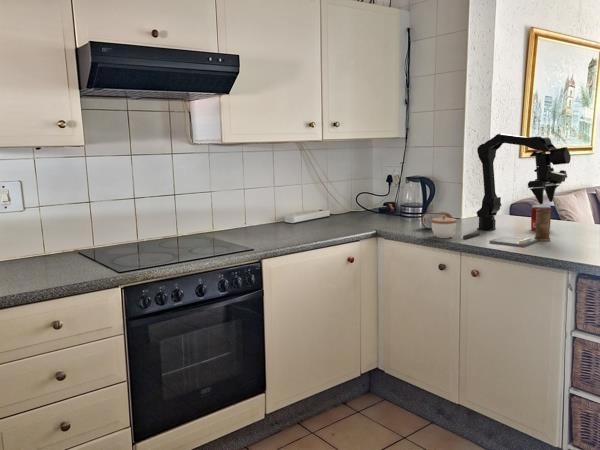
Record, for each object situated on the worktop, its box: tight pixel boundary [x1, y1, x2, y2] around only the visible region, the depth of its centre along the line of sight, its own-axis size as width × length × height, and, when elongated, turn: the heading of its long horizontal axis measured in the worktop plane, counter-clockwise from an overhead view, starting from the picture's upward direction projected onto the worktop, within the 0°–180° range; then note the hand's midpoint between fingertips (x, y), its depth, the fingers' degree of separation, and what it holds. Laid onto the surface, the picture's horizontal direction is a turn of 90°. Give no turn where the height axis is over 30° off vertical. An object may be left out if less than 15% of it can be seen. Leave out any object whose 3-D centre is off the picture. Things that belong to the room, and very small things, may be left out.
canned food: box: [530, 204, 552, 232], centre depth 243 cm, size 8×8×11 cm
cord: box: [462, 231, 481, 240], centre depth 231 cm, size 14×2×2 cm, turn 135°
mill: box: [533, 209, 552, 243], centre depth 219 cm, size 6×6×12 cm
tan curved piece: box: [421, 210, 453, 230], centre depth 254 cm, size 15×3×8 cm, turn 54°
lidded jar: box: [431, 216, 457, 239], centre depth 234 cm, size 11×11×9 cm
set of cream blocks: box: [519, 237, 532, 244], centre depth 212 cm, size 1×8×1 cm, turn 135°
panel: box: [489, 235, 538, 248], centre depth 217 cm, size 14×13×1 cm
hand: (546, 202), depth 227 cm, fingers open, 9 cm apart
